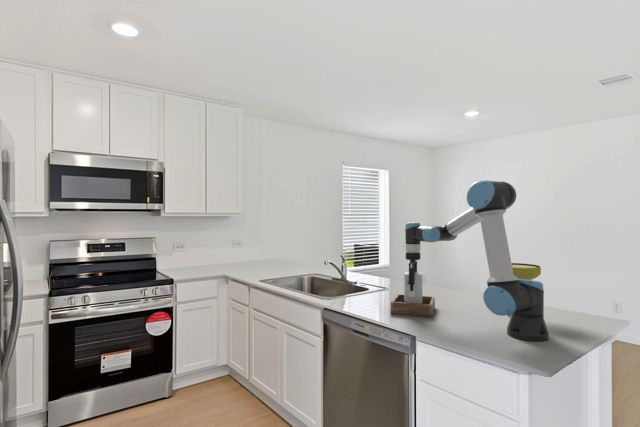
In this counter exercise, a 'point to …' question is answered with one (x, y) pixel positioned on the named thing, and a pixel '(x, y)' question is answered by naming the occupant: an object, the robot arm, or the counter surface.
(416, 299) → the supplement box
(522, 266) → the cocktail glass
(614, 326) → the counter surface
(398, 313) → the walnut box
